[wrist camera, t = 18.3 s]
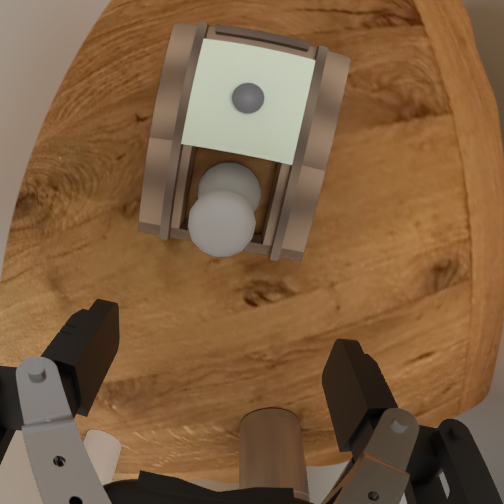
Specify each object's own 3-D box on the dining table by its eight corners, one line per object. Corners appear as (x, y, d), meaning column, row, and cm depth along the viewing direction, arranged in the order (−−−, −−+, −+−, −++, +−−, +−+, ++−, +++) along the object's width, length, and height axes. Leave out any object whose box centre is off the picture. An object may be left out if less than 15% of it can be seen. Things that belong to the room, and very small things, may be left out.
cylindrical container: (107, 452, 50) (77, 555, 27) (80, 432, 47) (41, 537, 24) (129, 447, 48) (100, 560, 25) (101, 426, 46) (61, 543, 23)
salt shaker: (235, 227, 33) (229, 289, 21) (189, 194, 32) (155, 238, 19) (272, 183, 31) (287, 221, 19) (225, 147, 30) (209, 162, 18)
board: (296, 250, 34) (302, 266, 30) (146, 222, 32) (134, 234, 29) (341, 63, 27) (354, 55, 23) (180, 31, 25) (171, 20, 21)
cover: (288, 161, 27) (293, 166, 24) (186, 142, 27) (178, 144, 23) (309, 65, 24) (318, 57, 21) (207, 45, 23) (201, 35, 20)
